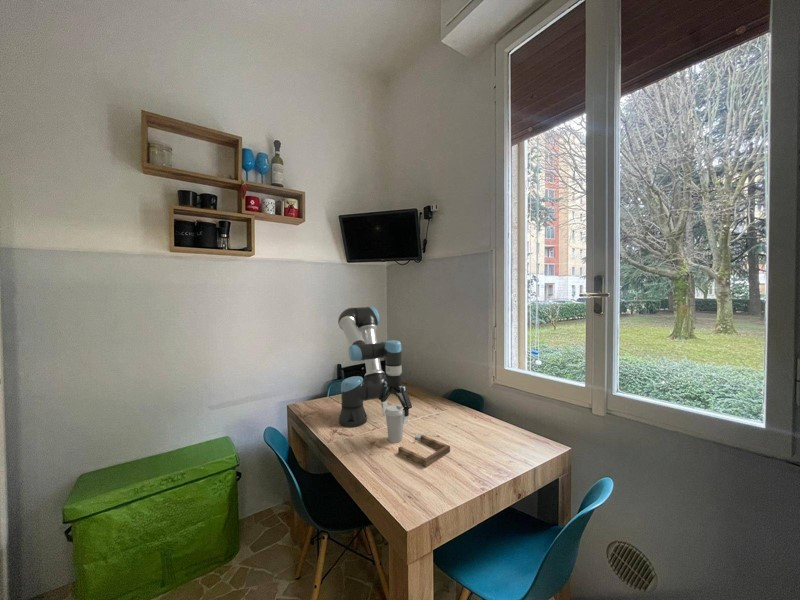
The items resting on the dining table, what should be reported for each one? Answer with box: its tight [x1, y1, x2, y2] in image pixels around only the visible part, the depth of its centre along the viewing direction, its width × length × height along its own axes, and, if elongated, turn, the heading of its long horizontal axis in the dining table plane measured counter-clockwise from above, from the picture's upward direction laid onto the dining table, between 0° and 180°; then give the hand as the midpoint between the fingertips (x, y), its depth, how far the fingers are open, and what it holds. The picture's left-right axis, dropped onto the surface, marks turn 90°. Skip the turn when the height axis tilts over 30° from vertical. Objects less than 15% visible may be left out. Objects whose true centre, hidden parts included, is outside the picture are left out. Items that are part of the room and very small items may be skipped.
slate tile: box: [414, 433, 427, 441], centre depth 144 cm, size 4×4×1 cm
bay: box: [397, 434, 451, 468], centre depth 131 cm, size 16×16×2 cm
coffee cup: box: [385, 404, 404, 444], centre depth 143 cm, size 10×10×15 cm
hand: (394, 418), depth 143 cm, fingers open, 13 cm apart
